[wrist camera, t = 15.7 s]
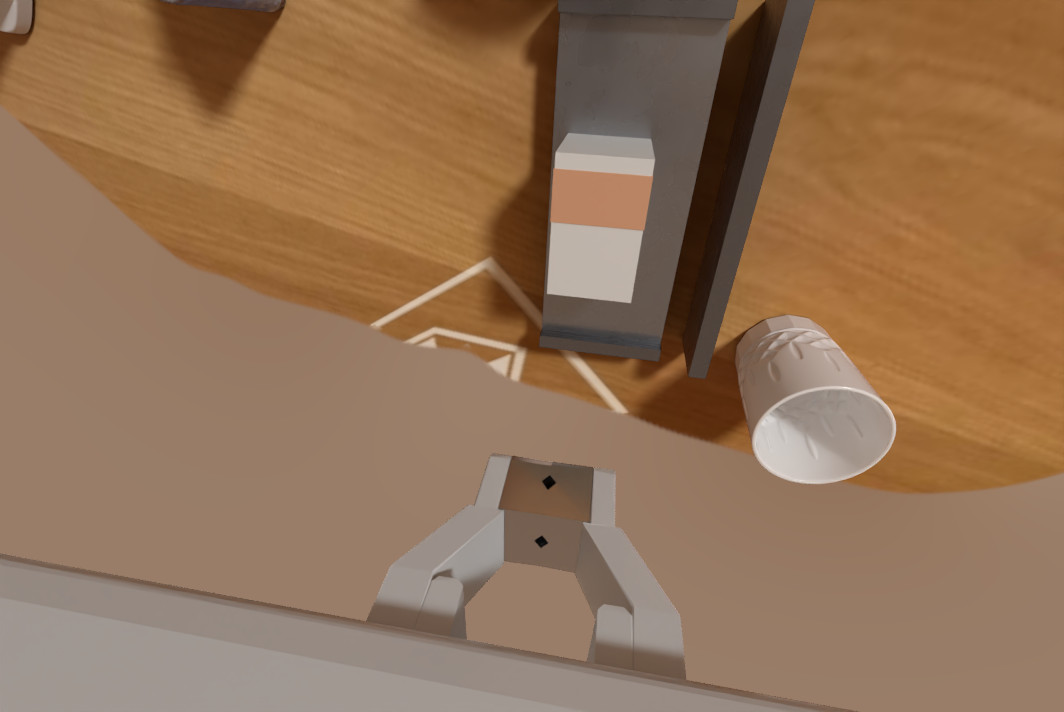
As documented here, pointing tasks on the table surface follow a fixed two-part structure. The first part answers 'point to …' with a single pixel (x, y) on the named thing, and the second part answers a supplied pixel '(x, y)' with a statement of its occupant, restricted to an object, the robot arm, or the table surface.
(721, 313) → the dark grey tray
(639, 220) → the block
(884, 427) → the white cup
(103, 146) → the table surface
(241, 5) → the flask
